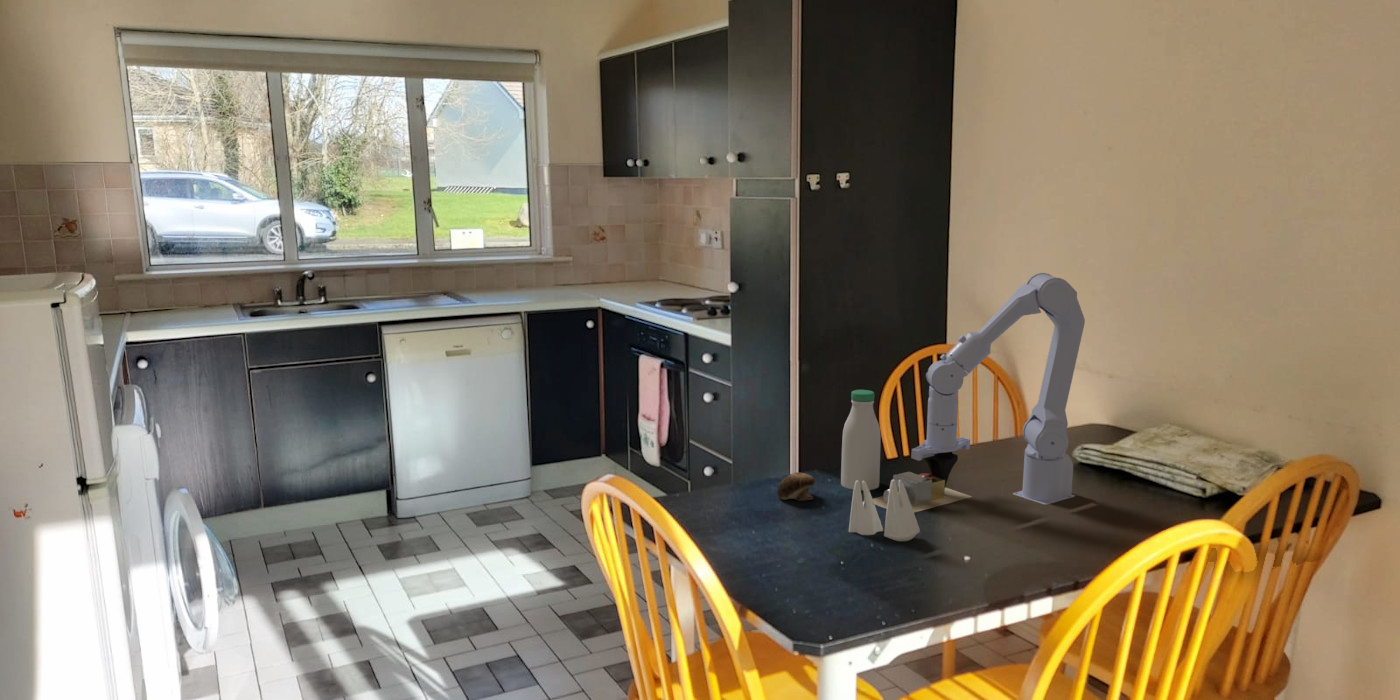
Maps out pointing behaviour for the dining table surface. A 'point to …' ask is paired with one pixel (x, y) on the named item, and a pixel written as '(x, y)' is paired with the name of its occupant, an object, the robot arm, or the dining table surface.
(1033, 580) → the dining table surface
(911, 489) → the grey rectangular block
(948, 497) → the board
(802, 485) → the mushroom
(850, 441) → the milk bottle
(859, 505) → the salt and pepper shakers
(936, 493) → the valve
